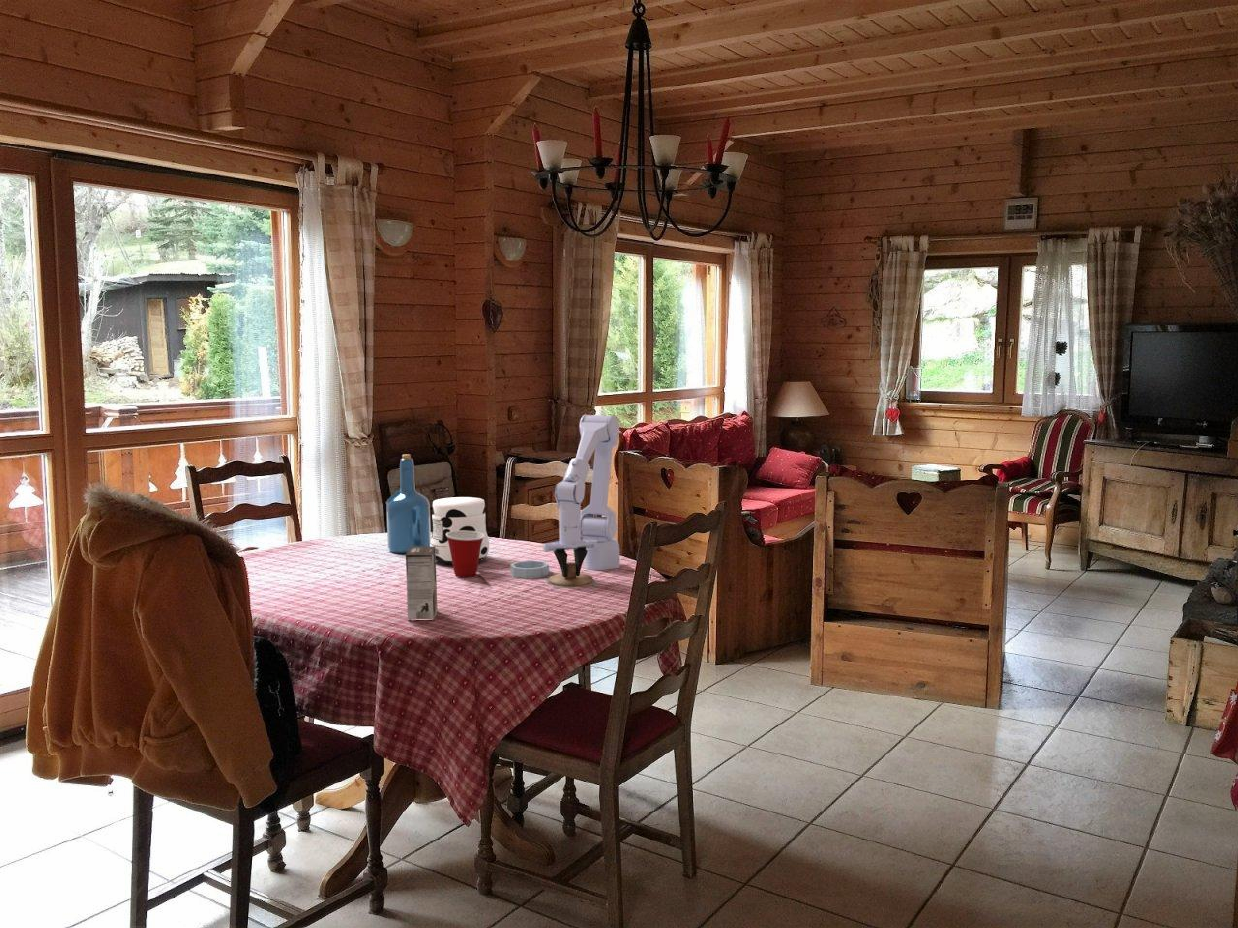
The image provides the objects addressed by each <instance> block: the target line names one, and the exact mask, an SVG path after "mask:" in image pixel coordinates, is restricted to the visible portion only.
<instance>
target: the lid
mask: <svg viewBox="0 0 1238 928" xmlns="http://www.w3.org/2000/svg"><path fill="white" fill-rule="evenodd" d="M566 567H567V577H563V576H562V573H558V574H554V575H552V576H549V577H548V578H549V583H551V584H553V585H557V586H568V588H572V587H571V586H579V587H583V586H582V585H587V584H590V583H591V582H592V581H593V580H594V579H593V576H591V575H590V574H587V573H586V574H585V573H580V576H576V563H575V561H574V562H567V564H566ZM592 579H593V580H592ZM549 583H548V584H549ZM551 584H550V585H551Z"/></svg>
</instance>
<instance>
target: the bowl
mask: <svg viewBox="0 0 1238 928" xmlns="http://www.w3.org/2000/svg"><path fill="white" fill-rule="evenodd" d="M509 569H510V570H509V571H510V575H511V576H512V577H513V578H517V579H518V578H520V579H535V578H537V579H538V578H544V577H546V576H547V575H550V564H549V563H547V562H546V561H541V560H533V559H531V560H521V561H516V562H513V563H511V564H510V565H509Z"/></svg>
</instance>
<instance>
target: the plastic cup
mask: <svg viewBox="0 0 1238 928" xmlns="http://www.w3.org/2000/svg"><path fill="white" fill-rule="evenodd" d="M446 536H447V539H448V543H449V548H450V553H451V559H452V566H453V573H454V575H455V577H457V578H472V577H475V576H476V575H477V571H478V565H479V561H478V560H479V554H480V547H481V543H482V540H483V538H484V537H485V535H484V534H483V533H480V532H475V531H466V530H458V531H450V532H447V533H446Z"/></svg>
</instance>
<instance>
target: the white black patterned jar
mask: <svg viewBox="0 0 1238 928" xmlns="http://www.w3.org/2000/svg"><path fill="white" fill-rule="evenodd" d="M486 515H487V514H486V503H485V499H483V498H481V497H474V496H473V497H472V496H455V497H453V496H451V497H444V498H438V499H435V500H433V502H432V515H431V516H432V517H431V518H432V534H431V542H430V547H435V553H436V562H440V563H443V564H452V559H451V553H450V548H449V543H448V539H447V536H446V533H447V532H450V531H458V530H466V531H475V532H480V533H483V534H484V535H485V537H484V538H483V540H482V543H481V547H480V554H479V560H478V562H479V561H482V560H484V559H486V557H488V555H489V551H490V539H489V536H488V533H487V525H486ZM452 565H453V564H452Z"/></svg>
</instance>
